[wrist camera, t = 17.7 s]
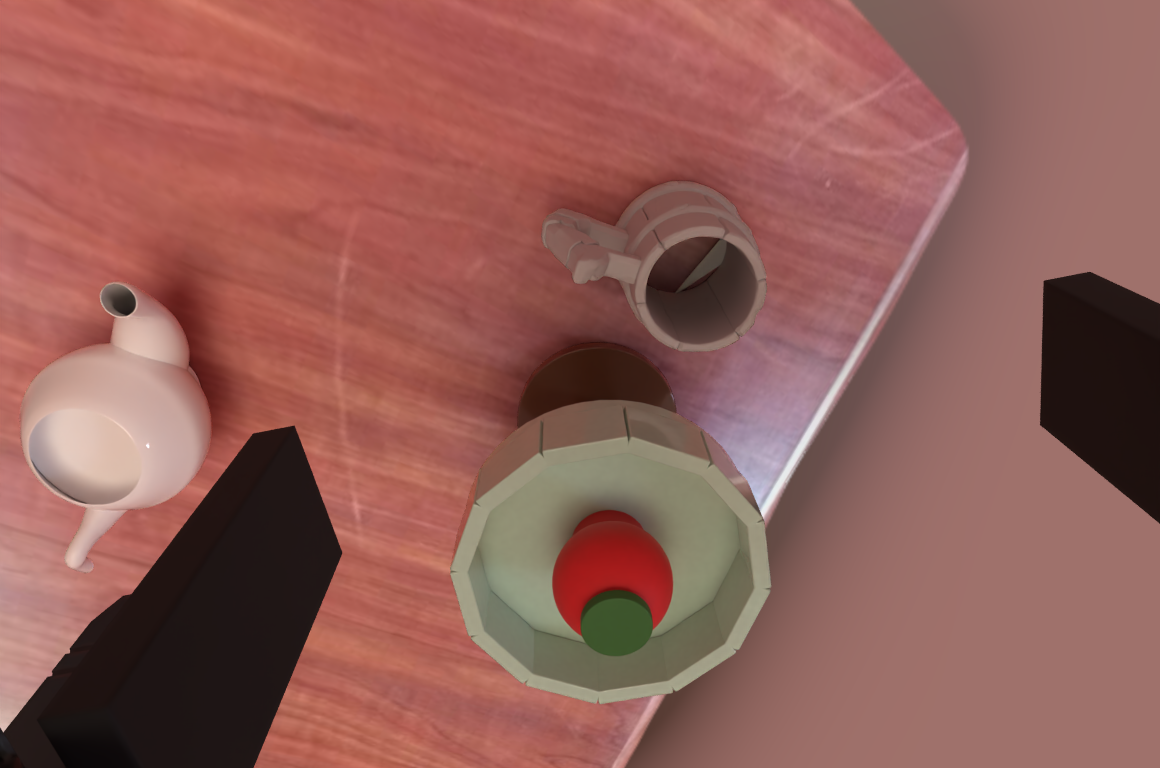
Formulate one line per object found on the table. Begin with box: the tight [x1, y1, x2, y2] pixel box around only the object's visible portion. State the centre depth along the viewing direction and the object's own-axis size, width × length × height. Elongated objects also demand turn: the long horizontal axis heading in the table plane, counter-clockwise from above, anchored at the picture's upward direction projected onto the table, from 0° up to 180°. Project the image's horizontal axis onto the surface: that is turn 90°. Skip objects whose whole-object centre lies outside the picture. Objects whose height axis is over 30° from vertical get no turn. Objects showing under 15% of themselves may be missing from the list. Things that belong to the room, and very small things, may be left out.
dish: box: [450, 342, 771, 704], centre depth 45 cm, size 14×14×17 cm
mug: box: [541, 181, 767, 352], centre depth 43 cm, size 8×12×12 cm, turn 75°
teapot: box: [20, 281, 212, 573], centre depth 47 cm, size 10×20×9 cm, turn 157°
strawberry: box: [552, 510, 673, 656], centre depth 37 cm, size 5×5×6 cm
